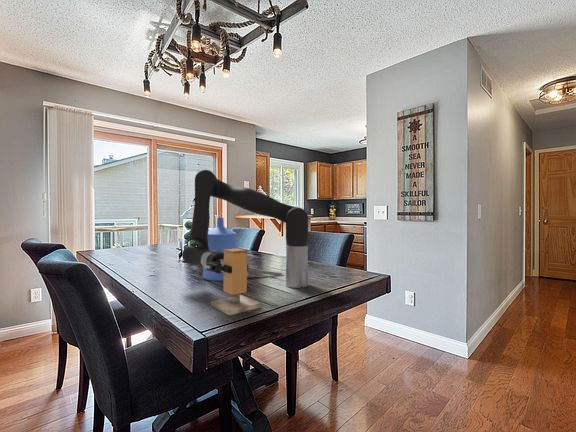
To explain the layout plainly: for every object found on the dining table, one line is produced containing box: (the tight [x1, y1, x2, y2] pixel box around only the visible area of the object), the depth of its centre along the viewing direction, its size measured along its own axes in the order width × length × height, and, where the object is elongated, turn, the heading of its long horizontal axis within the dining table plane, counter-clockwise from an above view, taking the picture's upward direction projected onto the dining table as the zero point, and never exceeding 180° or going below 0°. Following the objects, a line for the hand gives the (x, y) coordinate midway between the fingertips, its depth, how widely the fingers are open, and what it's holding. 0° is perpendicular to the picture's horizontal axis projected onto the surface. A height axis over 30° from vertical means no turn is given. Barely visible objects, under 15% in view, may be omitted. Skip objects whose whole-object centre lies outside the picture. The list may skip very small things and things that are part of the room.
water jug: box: [202, 217, 238, 282], centre depth 144 cm, size 16×16×28 cm
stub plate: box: [210, 293, 262, 316], centre depth 103 cm, size 12×12×6 cm
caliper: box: [247, 266, 284, 278], centre depth 148 cm, size 20×1×6 cm, turn 106°
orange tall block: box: [222, 247, 248, 295], centre depth 103 cm, size 6×6×14 cm
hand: (239, 269), depth 101 cm, fingers closed on orange tall block, 5 cm apart
